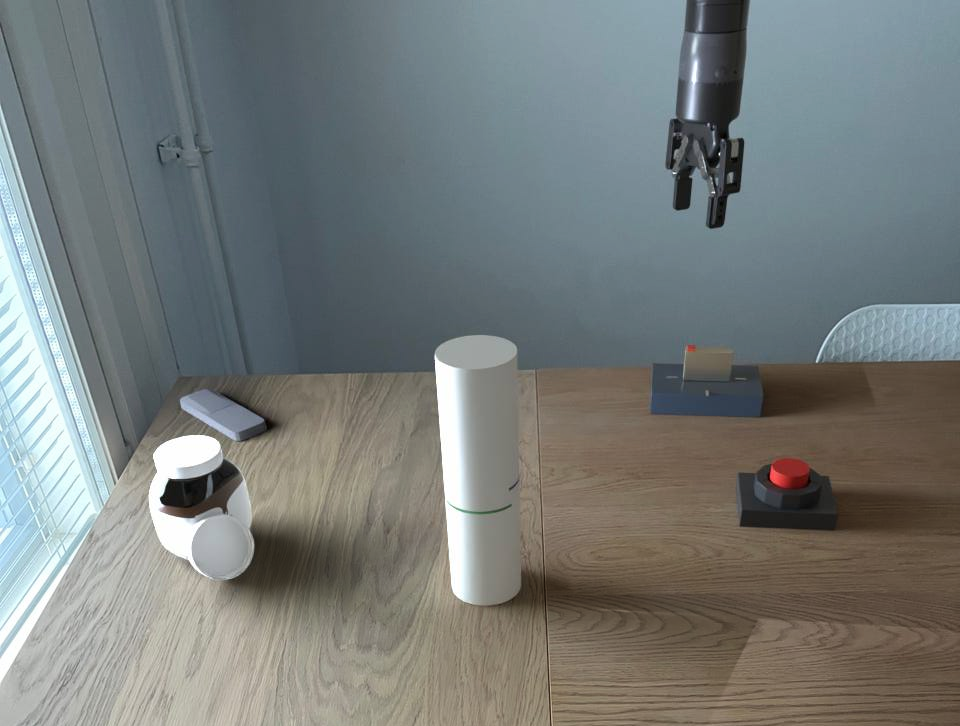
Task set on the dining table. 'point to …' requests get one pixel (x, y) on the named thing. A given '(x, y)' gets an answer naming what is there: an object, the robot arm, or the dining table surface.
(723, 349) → the beige rectangular block
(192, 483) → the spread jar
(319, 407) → the dining table surface
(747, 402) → the switch panel
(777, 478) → the button
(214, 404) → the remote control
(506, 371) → the cylindrical container
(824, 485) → the button box
